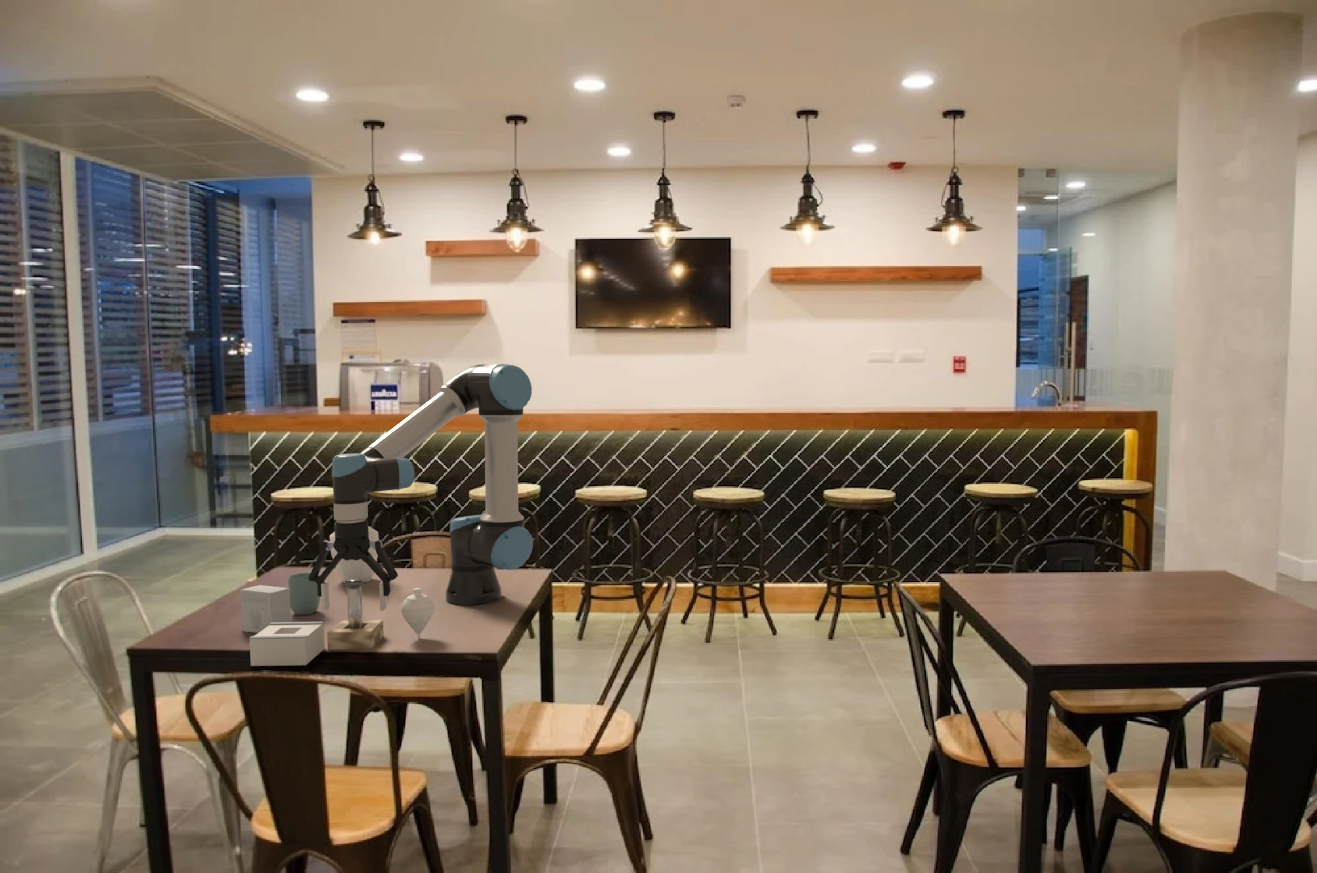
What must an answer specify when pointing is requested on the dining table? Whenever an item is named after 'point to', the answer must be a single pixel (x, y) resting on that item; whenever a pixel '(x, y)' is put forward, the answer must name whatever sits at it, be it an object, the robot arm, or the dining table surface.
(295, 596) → the cup
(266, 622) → the skincare box
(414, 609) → the spinning top
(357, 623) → the pin
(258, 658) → the socket
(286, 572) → the dining table surface
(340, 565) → the vase
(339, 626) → the mount
